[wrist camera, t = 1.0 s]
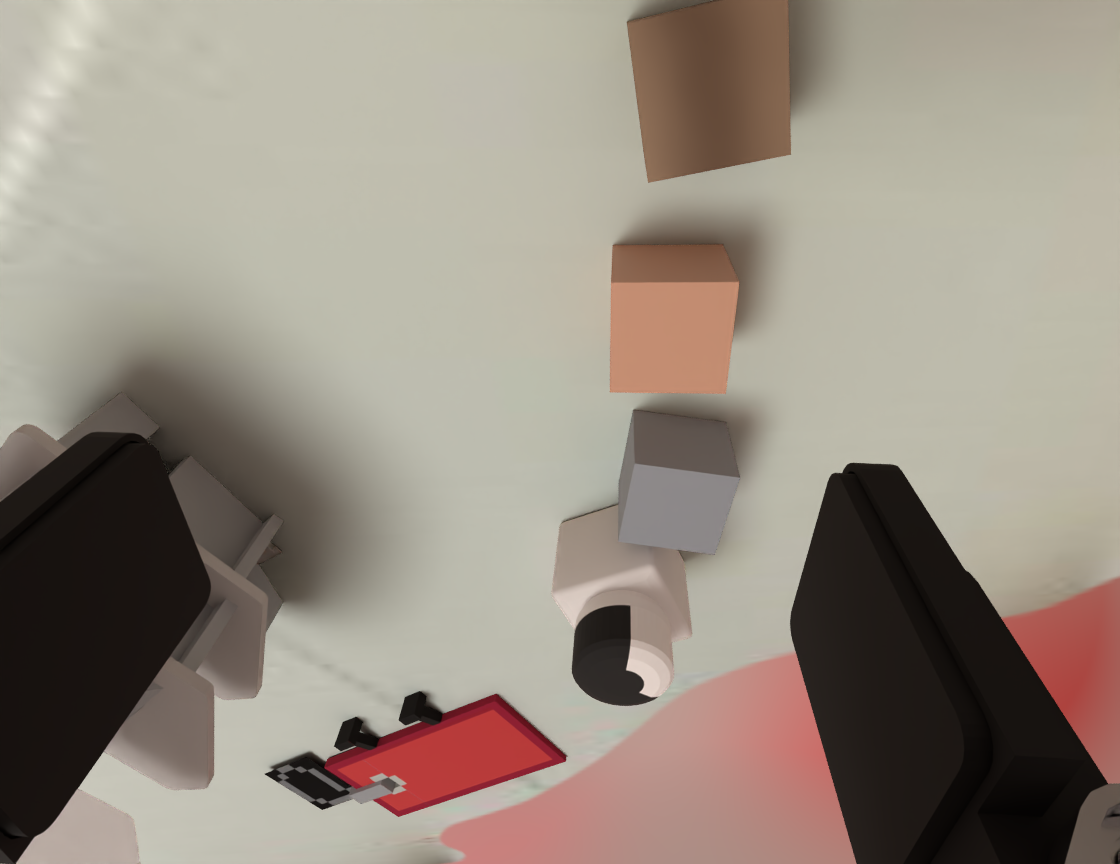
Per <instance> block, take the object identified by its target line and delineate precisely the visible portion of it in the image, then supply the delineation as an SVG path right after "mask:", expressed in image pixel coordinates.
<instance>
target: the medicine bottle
mask: <svg viewBox="0 0 1120 864" xmlns="http://www.w3.org/2000/svg"><path fill="white" fill-rule="evenodd" d="M551 594H552V597H553V599H554V600H555V602H556V603H557V605H558V606H559V608H560V609H561V611H562V612H563V614H564V615H565V617H566V618H567V620H568V621H569V622H570V624H571V625H572V627H573V628H574V630H575V635H574V648H573V661H572V674H573V677H574V679H575V681H576V683H577V684H578V685H579V687H580V688H581V689H582V690H583V691H584V692H585V693H586V694H588V695H589V696H591V697H592V698H594V699H596V700H599V701H601V702H604V703H608V704H612V705H620V706H632V705H639V704H644V703H647V702H650V701H652V700H654V699H656V698H657V697H659V696H660V695H662V694H663V693H664V692H665V691H666V690H667V689H668V687H669V686H670V685H671V683H672V681H673V678H674V665H673V652H672V642H676V641H680V640H684V639H688V638H690V637H691V636H692V627H691V618H690V609H689V600H688V591H687V583H686V574H685V565H684V561H683V559H682V557H681V555H680V553H679V551H678V550H675V549H668V548H661V547H653V546H646V545H639V544H631V543H624V542H618V505H616V506H613V507H610V508H606V509H603V510H600V511H597V512H594V513H591V514H588V515H584V516H581V517H578V518H575V519H572V520H569V521H566V522H563V523H561V524H560V527H559V534H558V542H557V550H556V559H555V567H554V575H553V583H552V591H551Z"/></svg>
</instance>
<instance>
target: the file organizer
mask: <svg viewBox="0 0 1120 864" xmlns="http://www.w3.org/2000/svg"><path fill="white" fill-rule="evenodd" d="M158 428H160V427H159V426H158V425H157V424H156V423H155V422H154V421H153V420H152V419H150V418H149V417H148V416H147V415H146V414H145V413H144V412H143V411H142V410H141V409H140V408H139V407H138V406H136V405H135V404H134V403H133V402H132V401H131V400H130V399H129V398H128V397H127V396H126V395H125V394H124V393H122V392H121V393H120V394H118V395H117V396H116V397H114V398H113V399H112V400H110V401H109V402H108V403H107V404H105V405H104V406H103V407H101V408H100V409H99V410H97V411H96V412H95V413H93V414H92V415H91V416H89V417H88V418H87V419H85V420H84V421H83V422H82V423H80V424H79V425H78V426H76V427H75V428H74V429H72V430H71V431H70V432H68V433H67V434H66V435H64V436H63V437H62V438H60V439H59V440H58V441H56V440H55V439H53V438H52V437H50V436H49V435H48V434H46V433H45V432H44V431H42V430H41V429H39V428H38V427H36V426H33V425H29V424H26V425H23V426H21V427H20V428H18V429H17V430H15V431H14V432H13V433H11V434H10V435H9V437H8V438H7V440H6V441H5V443H4V444H3V446H2V447H1V449H0V502H1V501H2V500H3V499H4V498H6V497H7V496H8V495H10V494H11V493H12V492H13V491H15V490H16V489H17V488H18V487H20V486H21V485H22V484H24V483H25V482H26V481H27V480H29V479H30V478H31V477H33V476H34V475H35V474H36V473H38V472H39V471H40V470H41V469H43V468H44V467H45V466H47V465H48V464H49V463H50V462H52V461H53V460H54V459H55V458H57V457H58V456H59V455H61V454H62V453H63V452H64V451H66V450H67V449H68V448H69V447H71V446H72V445H73V444H75V443H76V442H77V441H78V440H80V439H81V438H82V437H84V436H85V435H87V434H89V433H91V432H121V433H136V434H139V435H141V436H142V437H144V438H145V439H147V438H148V437H150V436H151V435H152V434H153V433H154V432H155V431H156V430H157V429H158ZM168 476H169V479H170V481H171V484H172V486H173V489H174V491H175V494H176V496H177V499H178V501H179V504H180V506H181V509H182V511H183V514H184V516H185V519H186V521H187V523H188V526H189V528H190V531H191V533H192V536H193V538H194V541H195V543H196V546H197V548H198V551H199V553H200V556H201V558H202V561H203V563H204V566H205V568H206V571H207V573H208V575H209V578H210V582H211V592H210V596H209V599H208V602H207V604H206V605H205V607H204V608H203V610H202V611H201V613H200V614H199V616H198V617H197V618H196V620H195V621H194V623H193V624H192V626H191V627H190V628H189V630H188V631H187V633H186V634H185V636H184V637H183V639H182V640H181V641H180V643H179V644H178V646H177V647H176V649H175V650H174V651H173V653H172V654H171V656H170V657H169V659H168V660H167V661H166V663H165V664H164V666H163V667H162V669H161V670H160V671H159V673H158V674H157V676H156V677H155V679H154V680H153V681H152V683H151V684H150V686H149V687H148V689H147V690H146V691H145V693H144V694H143V696H142V697H141V699H140V700H139V702H138V703H137V704H136V706H135V707H134V709H133V710H132V712H131V713H130V714H129V716H128V717H127V719H126V720H125V722H124V723H123V724H122V726H121V727H120V729H119V730H118V732H117V733H116V734H115V736H114V737H113V739H112V740H111V742H110V743H109V744H108V746H107V747H106V749H105V750H104V752H105V753H107V754H109V755H110V756H112V757H114V758H116V759H117V760H119V761H121V762H122V763H124V764H126V765H128V766H129V767H131V768H133V769H134V770H136V771H138V772H140V773H141V774H143V775H145V776H146V777H148V778H150V779H152V780H153V781H155V782H157V783H158V784H160V785H162V786H164V787H165V788H168V789H171V790H193V789H205V788H207V787H208V785H209V783H210V782H211V780H212V778H213V776H214V695H216V696H217V697H219V698H221V699H224V700H235V699H249V698H255V697H256V696H257V694H258V692H259V690H260V688H261V686H262V676H263V662H264V648H265V635H266V632H267V630H268V628H269V626H270V625H271V623H272V621H273V620H274V618H275V616H276V614H277V613H278V611H279V609H280V607H281V606H282V604H283V602H282V600H281V599H280V597H279V595H278V594H277V592H276V591H275V589H274V588H273V586H272V584H271V583H270V581H269V580H268V578H267V577H266V575H265V573H264V572H263V570H262V569H261V567H260V566H259V564H260V563H262V562H264V561H266V560H268V559H270V558H272V557H274V556H276V555H278V554H281V553H282V551H281V550H280V549H278V548H277V547H276V546H275V545H273V544H272V543H271V542H270V541H271V540H272V538H273V537H274V535H275V534H276V532H277V531H278V529H279V528H280V526H281V525H282V523H283V522H284V521H283V520H282V519H280V518H279V517H277V516H276V515H274V514H273V515H272V516H271V517H270V518H269V519H268V520H266V521H265V522H264V523H263V522H261V521H260V520H259V519H258V518H257V517H256V516H255V515H254V514H253V513H252V512H251V511H250V510H249V509H247V508H246V507H245V506H244V505H243V504H242V503H241V502H240V501H239V500H238V499H237V498H236V497H235V496H233V495H232V494H231V493H230V492H229V491H228V490H227V489H226V488H225V487H224V486H223V485H222V484H221V483H219V482H218V481H217V480H216V479H215V478H214V477H213V476H212V475H211V474H210V473H209V472H208V471H207V470H205V469H204V468H203V467H202V466H201V465H200V464H199V463H198V462H197V461H196V460H195V459H194V458H192V457H191V456H189V457H188V458H186V459H184V460H183V461H182V462H181V463H180V464H179V465H178V466H177V467H176V468H175V469H174V470H173V471H172V472H171V473H170V474H169V475H168ZM16 864H140V857H139V850H138V843H137V836H136V829H135V822H134V819H133V818H132V817H131V816H130V815H128V814H127V813H125V812H123V811H121V810H119V809H117V808H115V807H113V806H111V805H109V804H107V803H105V802H103V801H101V800H99V799H97V798H96V797H94V796H92V795H90V794H88V793H86V792H84V791H82V790H80V789H77V790H76V792H75V793H74V795H73V796H72V797H71V799H70V800H69V802H68V803H67V805H66V806H65V807H64V809H63V810H62V812H61V813H60V815H59V816H58V817H57V819H56V820H55V821H54V823H53V824H52V825H51V826H50V827H49V828H48V829H47V830H46V831H45V832H43V833H42V834H40V835H38V836H36V837H34V839H33V840H32V841H31V843H30V844H29V846H28V847H27V849H26V850H25V851H24V853H23V854H22V856H21V857H20V858H19V860H18V861H17V863H16Z"/></svg>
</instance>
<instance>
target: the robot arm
mask: <svg viewBox="0 0 1120 864" xmlns="http://www.w3.org/2000/svg"><path fill="white" fill-rule="evenodd" d="M210 592H211V582H210V578H209V575H208V573H207V571H206V568H205V566H204V563H203V561H202V558H201V556H200V553H199V551H198V548H197V546H196V543H195V541H194V538H193V536H192V533H191V531H190V528H189V526H188V523H187V521H186V519H185V516H184V514H183V511H182V509H181V506H180V504H179V501H178V499H177V496H176V494H175V491H174V489H173V486H172V484H171V481H170V479H169V476H168V474H167V471H166V469H165V467H164V464H163V462H162V459H161V457H160V454H159V452H158V451H157V449H156V448H155V447H154V446H153V445H150V444H148V442H147V440H146V439H145V438H144V437H142V436H141V435H139V434H136V433H121V432H91V433H89V434H87V435H85V436H84V437H82V438H81V439H80V440H78V441H77V442H76V443H75V444H73V445H72V446H71V447H69V448H68V449H67V450H66V451H64V452H63V453H62V454H61V455H59V456H58V457H57V458H55V459H54V460H53V461H52V462H50V463H49V464H48V465H47V466H45V467H44V468H43V469H41V470H40V471H39V472H38V473H36V474H35V475H34V476H33V477H31V478H30V479H29V480H27V481H26V482H25V483H24V484H22V485H21V486H20V487H18V488H17V489H16V490H15V491H13V492H12V493H11V494H10V495H8V496H7V497H6V498H4V499H3V500H2V501H1V502H0V863H2V864H16V863H17V861H18V860H19V858H20V857H21V856H22V854H23V853H24V851H25V850H26V849H27V847H28V846H29V844H30V843H31V841H32V840H33V839H34V837H36V836H38V835H40V834H42V833H43V832H45V831H46V830H47V829H48V828H49V827H50V826H51V825H52V824H53V823H54V821H55V820H56V819H57V817H58V816H59V815H60V813H61V812H62V810H63V809H64V807H65V806H66V805H67V803H68V802H69V800H70V799H71V797H72V796H73V795H74V793H75V792H76V790H77V789H78V787H79V786H80V785H81V783H82V782H83V780H84V779H85V777H86V776H87V775H88V773H89V772H90V770H91V769H92V767H93V766H94V764H95V763H96V762H97V760H98V759H99V757H100V756H101V754H102V753H103V752H104V750H105V749H106V747H107V746H108V744H109V743H110V742H111V740H112V739H113V737H114V736H115V734H116V733H117V732H118V730H119V729H120V727H121V726H122V724H123V723H124V722H125V720H126V719H127V717H128V716H129V714H130V713H131V712H132V710H133V709H134V707H135V706H136V704H137V703H138V702H139V700H140V699H141V697H142V696H143V694H144V693H145V691H146V690H147V689H148V687H149V686H150V684H151V683H152V681H153V680H154V679H155V677H156V676H157V674H158V673H159V671H160V670H161V669H162V667H163V666H164V664H165V663H166V661H167V660H168V659H169V657H170V656H171V654H172V653H173V651H174V650H175V649H176V647H177V646H178V644H179V643H180V641H181V640H182V639H183V637H184V636H185V634H186V633H187V631H188V630H189V628H190V627H191V626H192V624H193V623H194V621H195V620H196V618H197V617H198V616H199V614H200V613H201V611H202V610H203V608H204V607H205V605H206V604H207V602H208V599H209V596H210ZM790 628H791V636H792V640H793V644H794V647H795V651H796V654H797V658H798V661H799V665H800V668H801V671H802V675H803V678H804V682H805V685H806V689H807V692H808V696H809V699H810V703H811V706H812V710H813V713H814V717H815V720H816V724H817V727H818V731H819V734H820V738H821V741H822V745H823V748H824V752H825V755H826V758H827V762H828V766H829V769H830V773H831V776H832V779H833V783H834V786H835V790H836V793H837V797H838V800H839V804H840V807H841V811H842V814H843V818H844V821H845V825H846V828H847V831H848V835H849V839H850V842H851V845H852V849H853V853H854V856H855V859H856V863H857V864H1120V784H1108V783H1107V781H1106V780H1105V778H1104V777H1103V775H1102V773H1101V772H1100V770H1099V769H1098V767H1097V766H1096V764H1095V763H1094V761H1093V760H1092V758H1091V756H1090V755H1089V753H1088V752H1087V751H1086V749H1085V747H1084V746H1083V744H1082V743H1081V741H1080V739H1079V738H1078V736H1077V735H1076V733H1075V732H1074V730H1073V729H1072V727H1071V726H1070V724H1069V723H1068V721H1067V719H1066V718H1065V716H1064V715H1063V713H1062V712H1061V710H1060V709H1059V707H1058V706H1057V704H1056V702H1055V701H1054V699H1053V698H1052V696H1051V695H1050V693H1049V692H1048V690H1047V689H1046V687H1045V685H1044V684H1043V682H1042V681H1041V679H1040V678H1039V676H1038V675H1037V673H1036V672H1035V670H1034V668H1033V667H1032V665H1031V664H1030V662H1029V661H1028V659H1027V658H1026V656H1025V654H1024V653H1023V651H1022V650H1021V648H1020V647H1019V645H1018V644H1017V642H1016V641H1015V639H1014V637H1013V636H1012V634H1011V633H1010V631H1009V630H1008V629H1007V627H1006V625H1005V624H1004V622H1003V621H1002V619H1001V617H1000V616H999V614H998V613H997V611H996V610H995V608H994V607H993V605H992V603H991V602H990V600H989V599H988V597H987V596H986V594H985V593H984V591H983V589H982V588H981V586H980V585H979V583H978V582H977V581H976V580H975V578H974V577H973V576H972V575H971V574H970V573H969V572H967V571H966V570H965V569H964V568H963V566H962V565H961V563H960V561H959V560H958V558H957V557H956V555H955V554H954V552H953V551H952V549H951V547H950V546H949V544H948V543H947V541H946V540H945V538H944V536H943V535H942V533H941V532H940V530H939V529H938V527H937V525H936V524H935V522H934V521H933V519H932V518H931V516H930V514H929V513H928V511H927V510H926V508H925V507H924V505H923V503H922V502H921V500H920V499H919V497H918V496H917V494H916V493H915V491H914V489H913V488H912V486H911V485H910V483H909V482H908V480H907V478H906V477H905V475H904V474H903V472H902V471H901V470H900V468H899V467H898V466H896V465H891V464H867V463H850V464H847V466H846V467H845V468H844V470H843V473H834V474H832V475H831V476H830V478H829V480H828V483H827V487H826V490H825V494H824V497H823V501H822V505H821V508H820V512H819V515H818V519H817V522H816V526H815V529H814V533H813V536H812V540H811V544H810V547H809V551H808V554H807V558H806V561H805V565H804V568H803V572H802V575H801V579H800V583H799V586H798V590H797V593H796V597H795V600H794V604H793V607H792V611H791V618H790Z"/></svg>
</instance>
